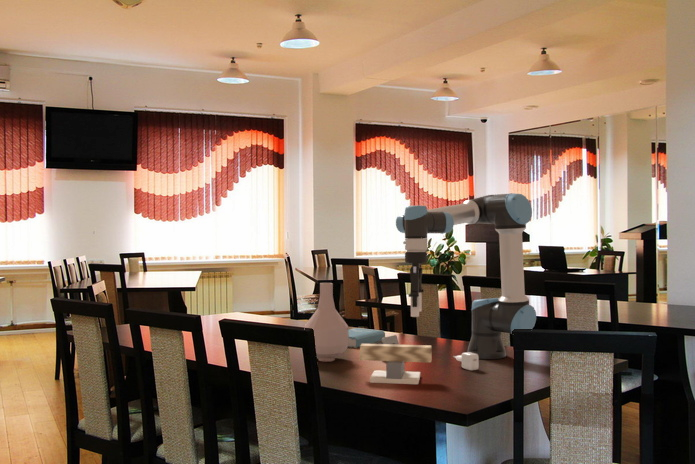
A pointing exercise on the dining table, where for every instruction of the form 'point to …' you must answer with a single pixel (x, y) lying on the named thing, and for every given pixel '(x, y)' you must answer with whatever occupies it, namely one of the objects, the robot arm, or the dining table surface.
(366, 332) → the book
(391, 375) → the fulcrum
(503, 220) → the robot arm
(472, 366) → the power adapter
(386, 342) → the electrical switch
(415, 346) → the beam
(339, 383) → the dining table surface
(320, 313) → the vase
